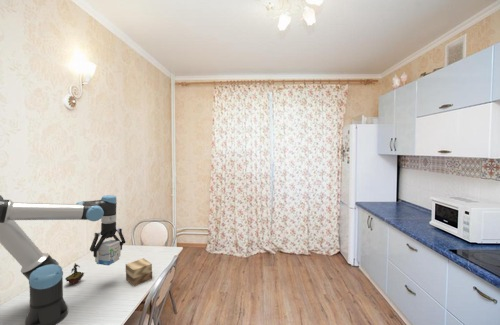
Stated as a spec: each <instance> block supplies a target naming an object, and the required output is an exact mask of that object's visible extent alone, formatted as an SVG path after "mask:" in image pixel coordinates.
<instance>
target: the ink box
mask: <svg viewBox="0 0 500 325" xmlns="http://www.w3.org/2000/svg"><path fill="white" fill-rule="evenodd" d="M120 241H121V240H120ZM120 241H116V240H115V239H105V240H104V241H103V243H102V244H101V246H100V247H99V249H98V251H99V262H98V263H96V262H95V264H97V265H103V266H110V265H112V264H114V263H115V262H118V261H120V257H119V250H120Z"/></svg>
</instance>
